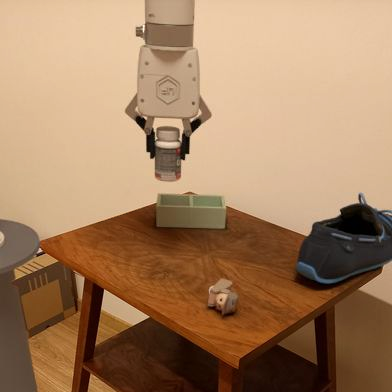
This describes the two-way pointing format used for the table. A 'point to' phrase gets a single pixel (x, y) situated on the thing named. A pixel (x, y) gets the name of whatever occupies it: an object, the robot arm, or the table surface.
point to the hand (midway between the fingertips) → (168, 156)
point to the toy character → (223, 296)
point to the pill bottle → (168, 154)
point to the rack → (190, 211)
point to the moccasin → (347, 244)
